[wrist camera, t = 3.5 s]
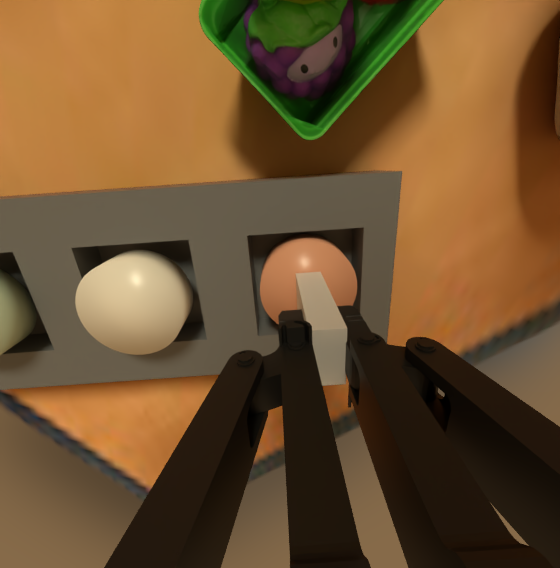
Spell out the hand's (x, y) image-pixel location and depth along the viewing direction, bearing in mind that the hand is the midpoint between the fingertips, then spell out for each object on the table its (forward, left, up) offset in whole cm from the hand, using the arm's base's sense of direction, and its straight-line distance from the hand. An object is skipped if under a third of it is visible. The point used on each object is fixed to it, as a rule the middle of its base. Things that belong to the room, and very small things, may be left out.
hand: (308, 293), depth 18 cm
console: (0, -10, -5) cm, 12 cm away
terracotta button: (0, 0, -3) cm, 3 cm away
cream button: (0, -10, -2) cm, 11 cm away
